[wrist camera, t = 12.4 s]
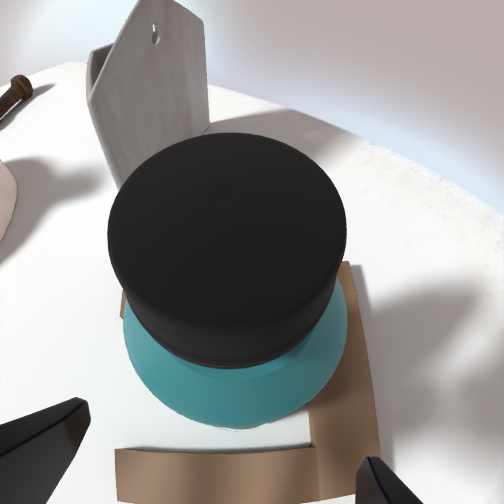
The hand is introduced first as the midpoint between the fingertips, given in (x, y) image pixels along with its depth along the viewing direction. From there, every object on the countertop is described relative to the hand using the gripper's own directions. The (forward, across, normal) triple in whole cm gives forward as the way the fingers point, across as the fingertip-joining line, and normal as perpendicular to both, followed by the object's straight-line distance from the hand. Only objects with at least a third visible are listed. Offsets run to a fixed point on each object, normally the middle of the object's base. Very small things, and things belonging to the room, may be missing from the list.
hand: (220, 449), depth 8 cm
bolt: (+33, +50, -14) cm, 62 cm away
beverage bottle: (+12, 0, +7) cm, 14 cm away
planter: (+27, +15, -8) cm, 32 cm away
